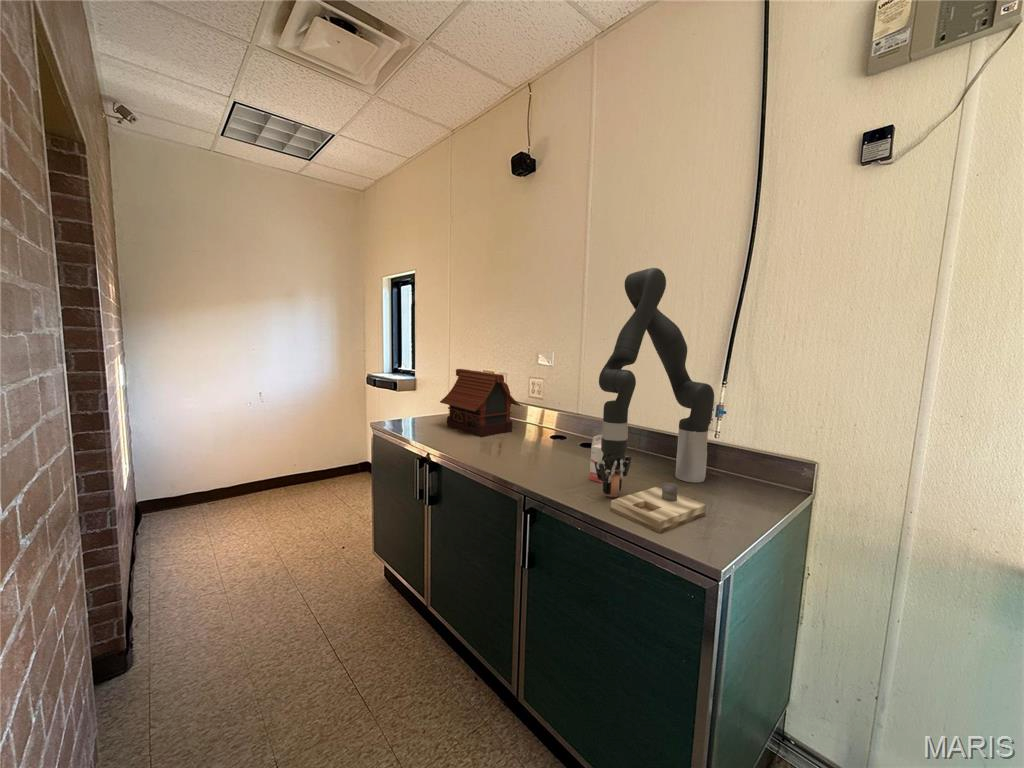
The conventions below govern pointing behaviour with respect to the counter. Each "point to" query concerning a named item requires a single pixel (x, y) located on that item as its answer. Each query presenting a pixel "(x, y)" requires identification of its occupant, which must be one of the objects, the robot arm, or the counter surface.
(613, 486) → the terracotta pin
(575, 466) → the counter surface
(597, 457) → the ink cartridge box
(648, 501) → the pin board
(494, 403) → the house
